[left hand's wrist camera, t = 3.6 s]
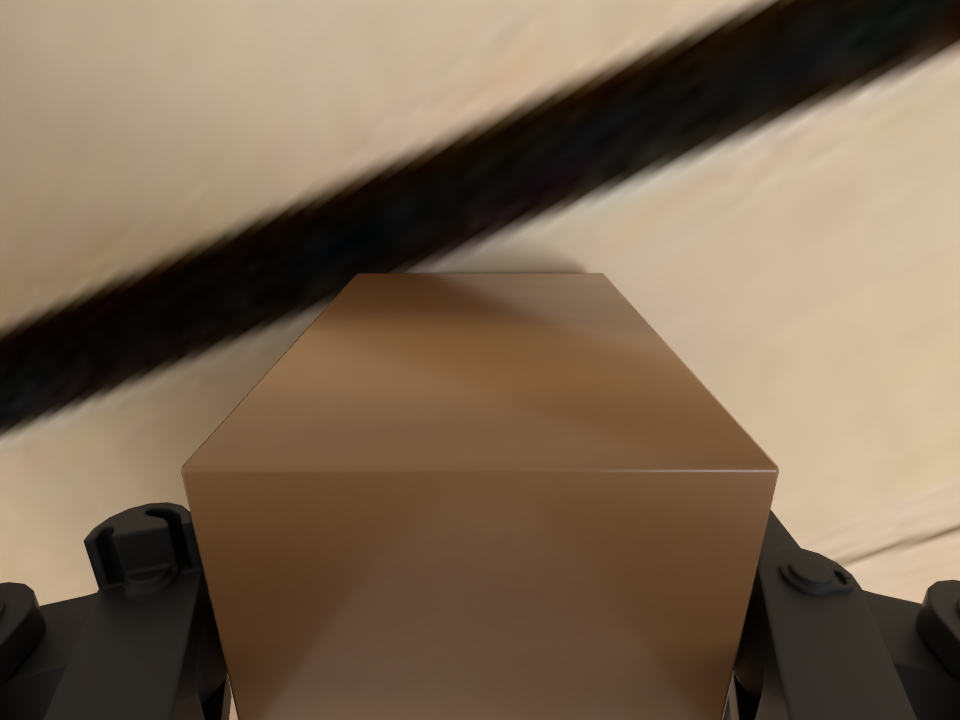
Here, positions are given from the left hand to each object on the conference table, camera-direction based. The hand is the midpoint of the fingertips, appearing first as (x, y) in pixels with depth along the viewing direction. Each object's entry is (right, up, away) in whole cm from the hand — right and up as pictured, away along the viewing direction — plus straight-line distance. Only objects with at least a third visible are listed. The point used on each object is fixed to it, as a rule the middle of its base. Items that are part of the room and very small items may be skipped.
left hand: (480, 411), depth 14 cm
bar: (0, -7, +3) cm, 8 cm away
